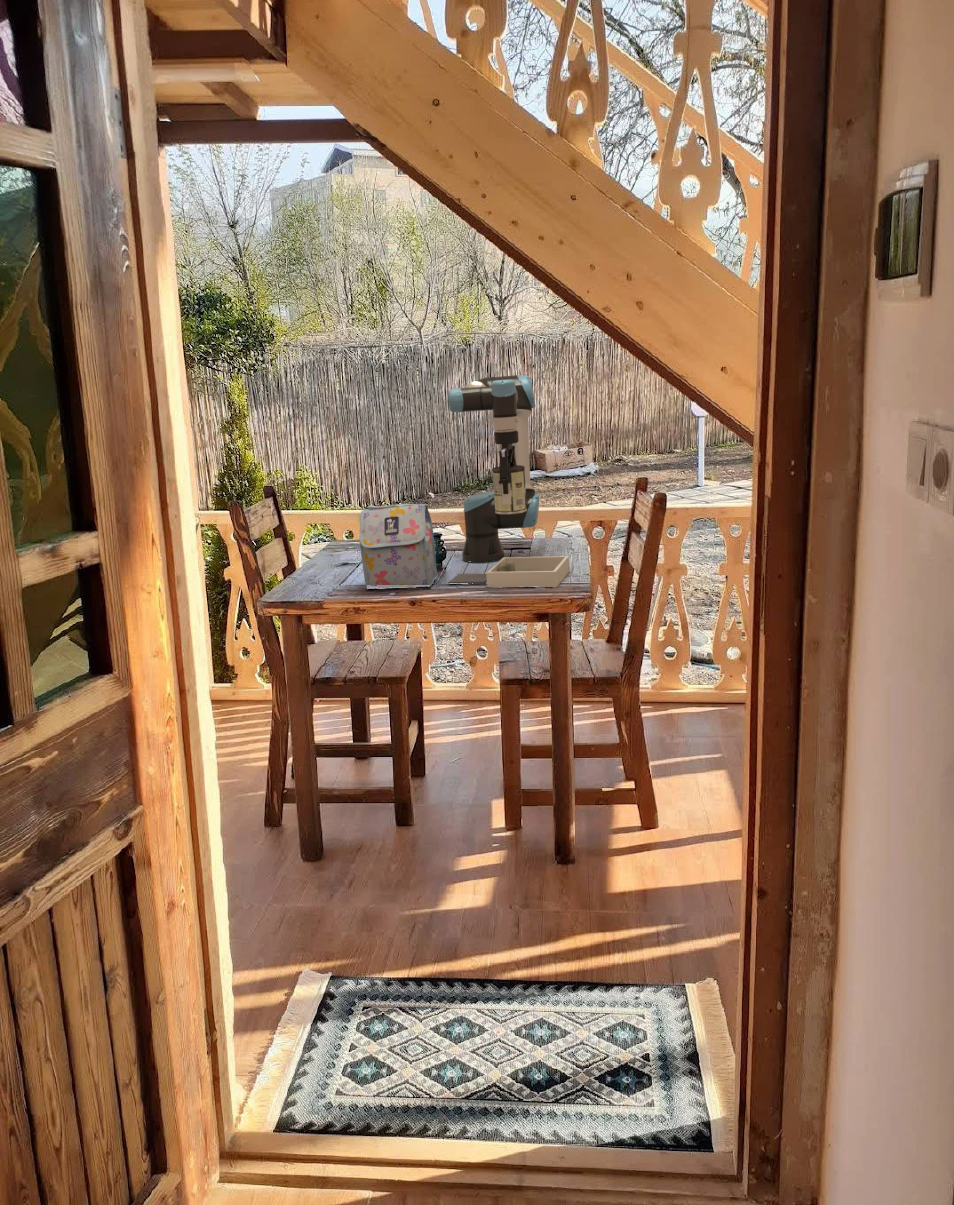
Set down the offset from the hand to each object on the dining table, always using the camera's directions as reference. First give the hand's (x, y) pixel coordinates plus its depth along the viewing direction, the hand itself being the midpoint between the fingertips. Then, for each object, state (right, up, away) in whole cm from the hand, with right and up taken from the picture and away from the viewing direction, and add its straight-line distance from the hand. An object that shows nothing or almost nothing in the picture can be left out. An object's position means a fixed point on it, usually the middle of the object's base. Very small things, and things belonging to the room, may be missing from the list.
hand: (510, 501), depth 327 cm
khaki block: (0, -25, +6) cm, 26 cm away
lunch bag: (-35, -27, +8) cm, 45 cm away
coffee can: (0, -3, +1) cm, 3 cm away
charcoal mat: (-12, -25, +9) cm, 29 cm away
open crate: (+6, -25, +5) cm, 26 cm away
